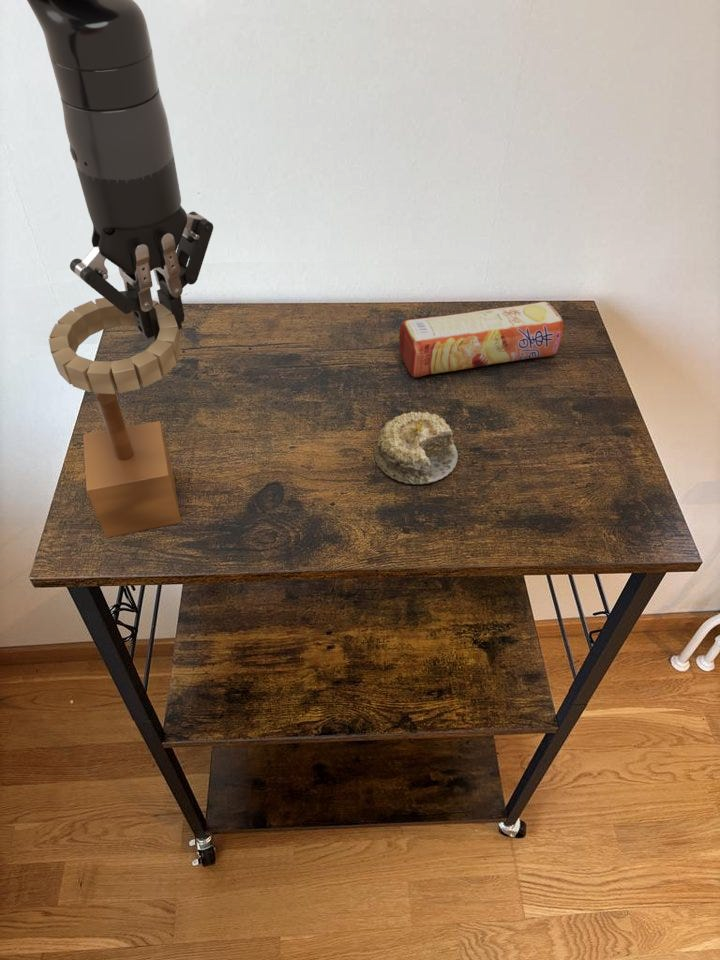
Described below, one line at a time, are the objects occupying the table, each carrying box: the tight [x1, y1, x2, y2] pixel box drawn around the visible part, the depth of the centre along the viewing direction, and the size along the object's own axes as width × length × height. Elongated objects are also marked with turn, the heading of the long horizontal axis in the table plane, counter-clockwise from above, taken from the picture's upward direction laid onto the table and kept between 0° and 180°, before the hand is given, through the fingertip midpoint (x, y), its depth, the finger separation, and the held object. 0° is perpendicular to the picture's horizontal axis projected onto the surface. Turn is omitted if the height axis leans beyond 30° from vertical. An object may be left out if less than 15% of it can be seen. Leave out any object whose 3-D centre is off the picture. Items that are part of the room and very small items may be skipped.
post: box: [82, 393, 182, 539], centre depth 75 cm, size 8×8×16 cm
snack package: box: [398, 301, 565, 378], centre depth 96 cm, size 21×7×7 cm, turn 105°
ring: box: [48, 297, 183, 394], centre depth 67 cm, size 11×11×2 cm
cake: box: [373, 411, 459, 485], centre depth 85 cm, size 10×10×5 cm
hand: (163, 330), depth 70 cm, fingers closed on ring, 1 cm apart
